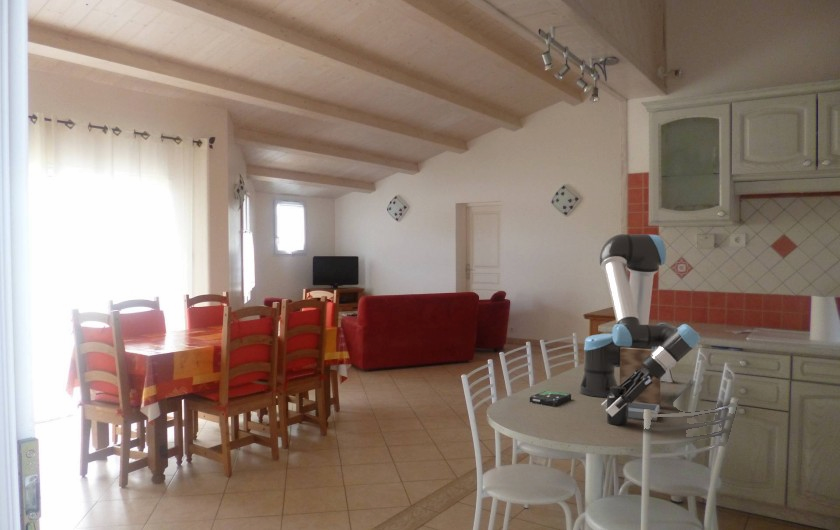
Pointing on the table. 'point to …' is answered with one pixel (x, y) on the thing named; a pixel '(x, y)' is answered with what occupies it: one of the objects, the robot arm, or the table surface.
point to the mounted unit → (633, 361)
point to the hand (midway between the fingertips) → (606, 410)
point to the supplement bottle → (622, 414)
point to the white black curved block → (667, 376)
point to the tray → (641, 410)
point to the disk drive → (550, 398)
